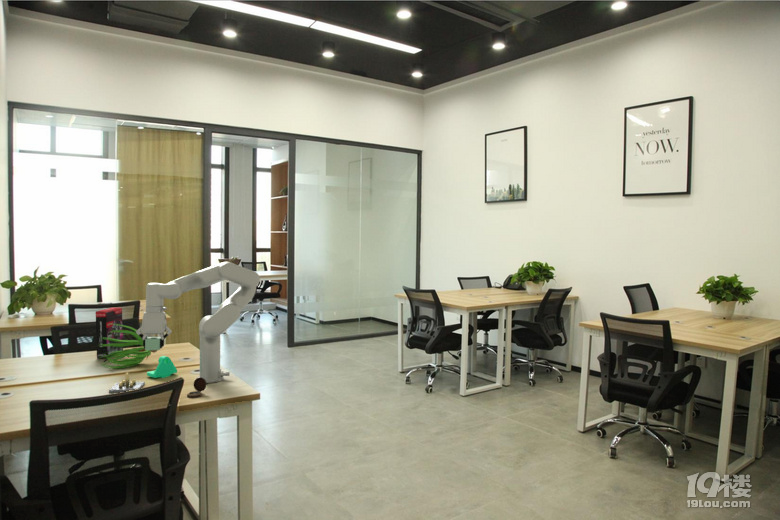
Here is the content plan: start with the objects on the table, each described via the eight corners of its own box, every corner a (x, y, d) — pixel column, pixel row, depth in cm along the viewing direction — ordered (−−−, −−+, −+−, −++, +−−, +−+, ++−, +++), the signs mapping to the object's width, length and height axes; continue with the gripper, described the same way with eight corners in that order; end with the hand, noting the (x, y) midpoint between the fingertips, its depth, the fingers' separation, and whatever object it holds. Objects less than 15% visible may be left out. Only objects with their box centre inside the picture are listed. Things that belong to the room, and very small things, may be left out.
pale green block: (161, 347, 239) (162, 336, 239) (159, 350, 233) (159, 339, 233) (148, 347, 238) (148, 337, 238) (145, 350, 232) (145, 339, 232)
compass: (183, 397, 220) (183, 381, 219) (195, 392, 227) (195, 376, 227) (200, 399, 218) (200, 382, 217) (210, 394, 225) (211, 377, 225)
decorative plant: (164, 373, 278) (109, 383, 253) (140, 357, 292) (85, 365, 267) (172, 328, 275) (116, 334, 250) (147, 314, 289) (92, 318, 264)
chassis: (144, 383, 239) (144, 369, 238) (138, 391, 227) (138, 375, 227) (116, 385, 236) (116, 370, 236) (108, 392, 224) (108, 377, 224)
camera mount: (168, 372, 261) (168, 352, 260) (177, 374, 257) (177, 354, 256) (146, 377, 251) (146, 356, 250) (155, 380, 246) (155, 359, 246)
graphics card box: (107, 359, 286) (107, 311, 285) (95, 359, 286) (94, 311, 285) (123, 352, 303) (123, 307, 302) (112, 352, 303) (112, 307, 302)
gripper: (175, 308, 241) (174, 346, 241) (136, 308, 237) (135, 346, 237) (172, 310, 234) (171, 349, 234) (132, 310, 230) (131, 349, 230)
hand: (153, 347), depth 236 cm, fingers closed on pale green block, 6 cm apart
